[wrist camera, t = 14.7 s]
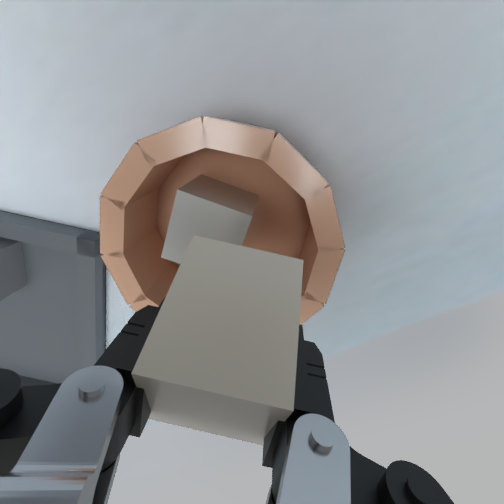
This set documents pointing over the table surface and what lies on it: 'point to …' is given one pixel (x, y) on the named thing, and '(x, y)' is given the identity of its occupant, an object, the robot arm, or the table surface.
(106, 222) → the bowl
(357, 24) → the table surface
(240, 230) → the pale grey cuboid
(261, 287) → the off-white cubic block
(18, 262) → the light gray block
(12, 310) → the tray
